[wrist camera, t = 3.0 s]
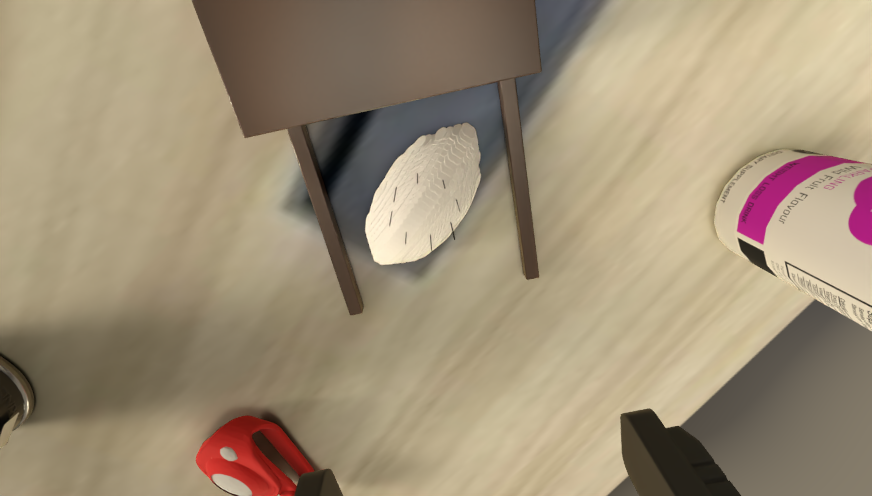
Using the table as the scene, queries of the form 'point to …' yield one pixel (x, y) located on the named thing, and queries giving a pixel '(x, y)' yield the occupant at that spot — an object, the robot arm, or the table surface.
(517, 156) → the box with long handles
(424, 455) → the table surface
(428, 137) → the pincushion
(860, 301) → the supplement can
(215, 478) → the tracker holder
